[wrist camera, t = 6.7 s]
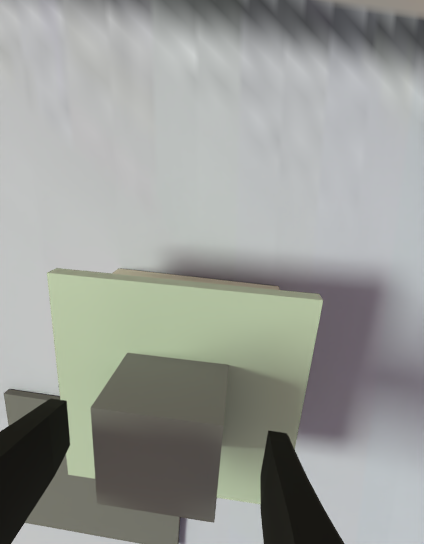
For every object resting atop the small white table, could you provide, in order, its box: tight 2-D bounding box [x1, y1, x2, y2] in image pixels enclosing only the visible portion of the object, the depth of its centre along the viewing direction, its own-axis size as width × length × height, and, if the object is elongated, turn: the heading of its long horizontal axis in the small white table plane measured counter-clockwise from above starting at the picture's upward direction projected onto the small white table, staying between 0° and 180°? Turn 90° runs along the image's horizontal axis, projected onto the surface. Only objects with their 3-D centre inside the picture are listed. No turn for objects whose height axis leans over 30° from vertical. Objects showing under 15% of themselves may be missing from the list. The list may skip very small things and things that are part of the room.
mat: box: [4, 389, 180, 544], centre depth 20 cm, size 11×11×1 cm
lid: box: [47, 268, 323, 522], centre depth 11 cm, size 10×10×4 cm
